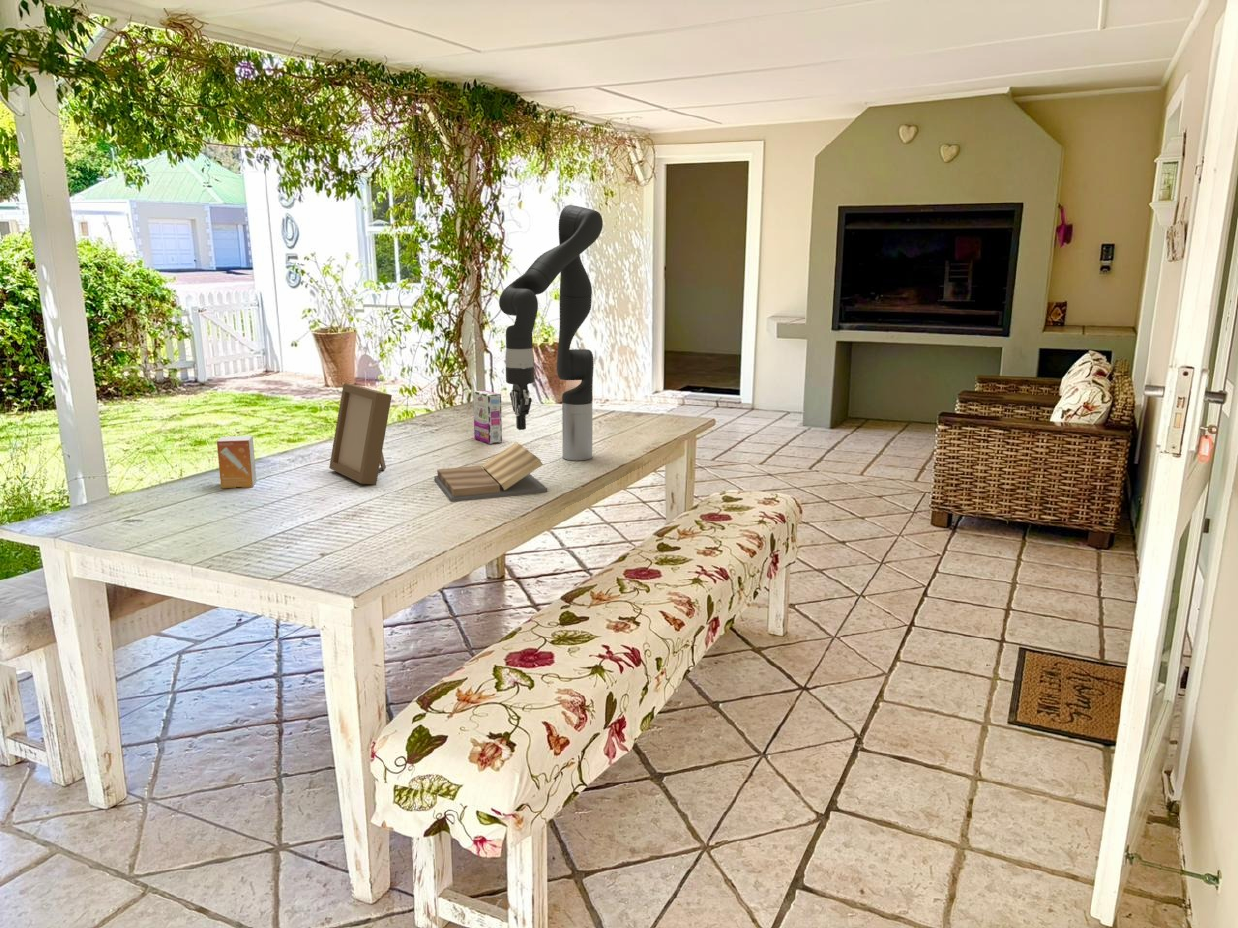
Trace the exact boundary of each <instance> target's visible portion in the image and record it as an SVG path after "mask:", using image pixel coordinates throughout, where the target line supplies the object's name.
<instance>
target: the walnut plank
mask: <svg viewBox="0 0 1238 928" xmlns="http://www.w3.org/2000/svg"><path fill="white" fill-rule="evenodd" d="M436 470H437V474H436V476H438V478H439V479H440V480H441V481H442V483H443V484H444V485H445V487H446V488H447V489H448V490H449V492H450V493H451V494H452V495H453V497H458V496H468V495H479V494H489V493H499V492H500V485H499V484H498V483H497V482H496V481H495V480H494V479H493V478H492V477H491V476H490V475H489V474H488V473H487V472H486V471H485V470H484V469H483V467H482V466H481V465H473V466H463V467H451V468H450V467H449V468H439V469H438V468H437V469H436Z"/></svg>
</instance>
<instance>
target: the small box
mask: <svg viewBox="0 0 1238 928" xmlns="http://www.w3.org/2000/svg"><path fill="white" fill-rule="evenodd" d="M254 446H255V445H254V436H253V435H233V436H232V435H229V436H220V437H219V439H217V440H216V447H217V448H216V449H217V458H218V469H219V479H220V480H219V482H220V488H221V489H237V488H236V487H242V488H254V486H255V485H254V484H256V483H257V469H256V460H255V459H256V457H255V447H254Z"/></svg>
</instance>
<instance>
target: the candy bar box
mask: <svg viewBox="0 0 1238 928" xmlns="http://www.w3.org/2000/svg"><path fill="white" fill-rule="evenodd" d="M472 393H473V395H472V396H473V398H472V399H473V402H472V403H473V426H474V427H473V431H474V432H473V434H474V435H473V436H474V438H473V439H474V440H477V441H479V442H482V443H485V444H488V445H496V444H502V443H503V431H502V429H503V426H502V421H503V420H502V394H501V393H497V392H494V391H493V392H492V391H489V390H476V391H475V390H474V391H473V392H472Z"/></svg>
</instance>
